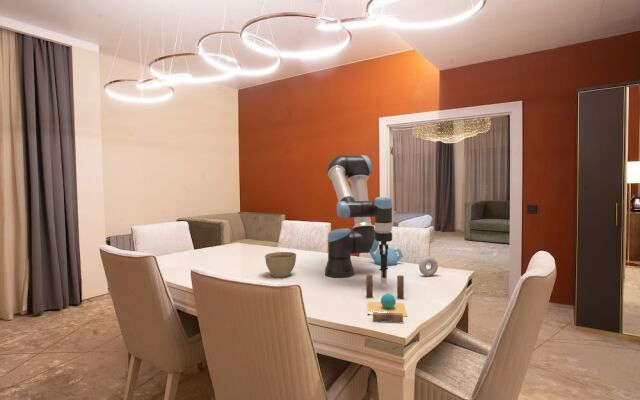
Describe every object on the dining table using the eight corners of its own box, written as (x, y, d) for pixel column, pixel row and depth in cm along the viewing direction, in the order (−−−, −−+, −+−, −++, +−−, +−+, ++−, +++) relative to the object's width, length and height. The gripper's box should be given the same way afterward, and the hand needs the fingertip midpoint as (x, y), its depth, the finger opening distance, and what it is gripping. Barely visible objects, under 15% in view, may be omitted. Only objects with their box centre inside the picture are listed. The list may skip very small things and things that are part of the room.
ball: (380, 291, 137) (380, 296, 142) (381, 306, 135) (381, 310, 139) (395, 291, 137) (394, 295, 142) (396, 306, 134) (395, 310, 139)
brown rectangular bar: (373, 321, 125) (373, 314, 125) (373, 319, 127) (372, 312, 127) (402, 322, 124) (402, 315, 124) (402, 320, 126) (402, 313, 126)
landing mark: (367, 315, 131) (367, 314, 131) (367, 302, 145) (367, 301, 145) (407, 316, 130) (407, 315, 130) (403, 303, 143) (403, 303, 143)
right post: (397, 298, 149) (397, 276, 149) (397, 296, 152) (396, 275, 151) (404, 298, 149) (403, 277, 149) (403, 297, 152) (403, 275, 151)
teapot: (384, 267, 204) (384, 248, 203) (367, 263, 217) (367, 245, 216) (404, 264, 212) (404, 245, 212) (386, 259, 225) (386, 242, 224)
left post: (366, 297, 151) (366, 276, 151) (366, 295, 154) (366, 274, 153) (372, 298, 151) (372, 276, 150) (372, 296, 153) (372, 274, 153)
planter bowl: (276, 270, 201) (276, 250, 200) (302, 273, 194) (301, 253, 193) (258, 277, 187) (258, 256, 186) (285, 281, 179) (285, 258, 179)
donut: (435, 274, 187) (435, 255, 187) (439, 276, 184) (439, 256, 184) (417, 275, 185) (417, 256, 185) (421, 277, 182) (421, 257, 181)
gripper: (392, 233, 156) (393, 288, 157) (391, 230, 169) (391, 280, 170) (375, 233, 157) (375, 288, 158) (374, 229, 170) (375, 280, 171)
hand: (383, 284), depth 164 cm, fingers closed
